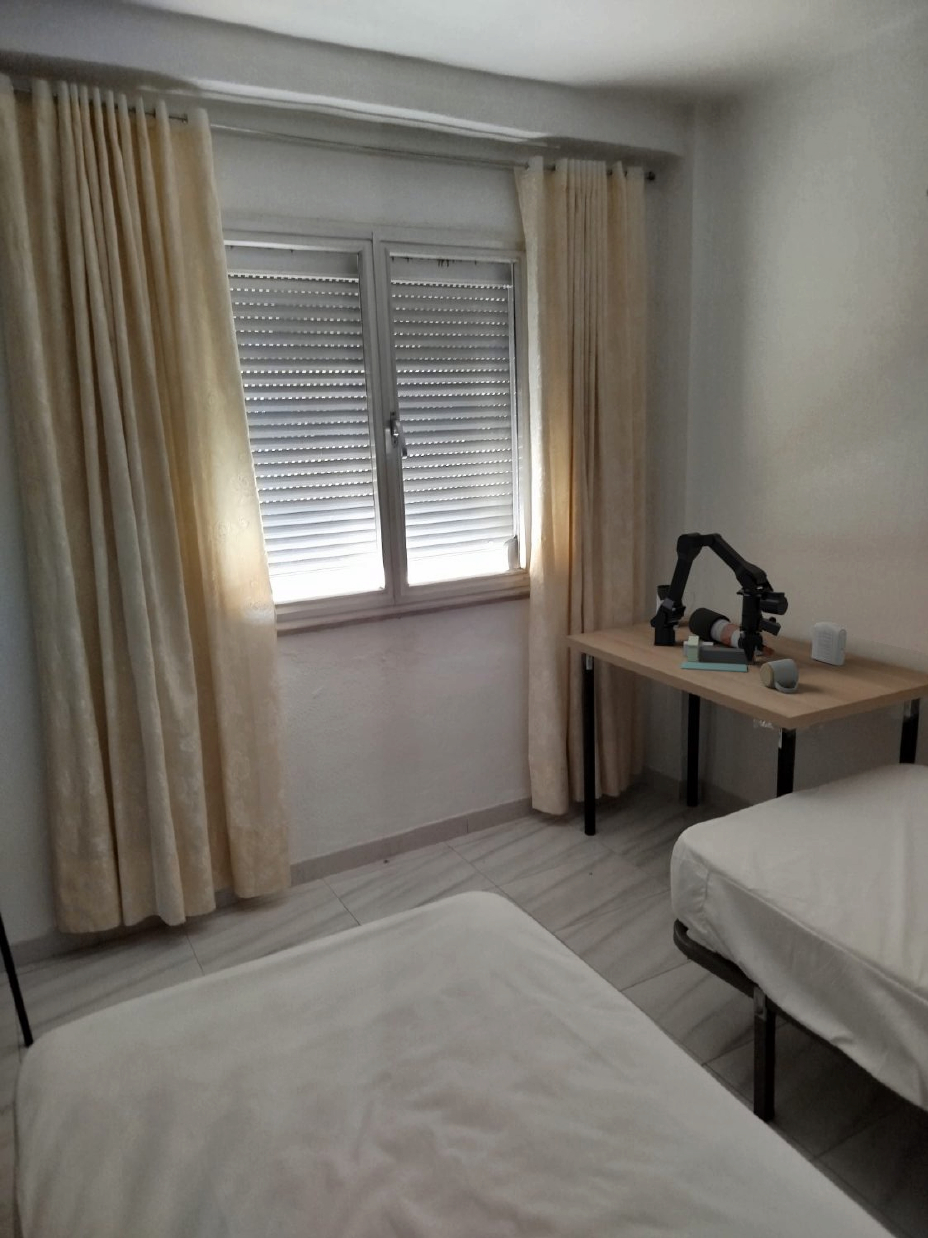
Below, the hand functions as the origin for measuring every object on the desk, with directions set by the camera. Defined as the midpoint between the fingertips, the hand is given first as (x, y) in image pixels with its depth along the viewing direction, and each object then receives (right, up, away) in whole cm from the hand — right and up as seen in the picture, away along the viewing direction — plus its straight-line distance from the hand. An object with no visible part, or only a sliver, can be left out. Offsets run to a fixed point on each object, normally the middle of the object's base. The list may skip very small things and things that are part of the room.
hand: (749, 659), depth 247 cm
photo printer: (+24, -1, -1) cm, 24 cm away
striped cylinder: (+1, +3, +19) cm, 19 cm away
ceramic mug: (0, -7, -25) cm, 26 cm away
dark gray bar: (-6, -1, +2) cm, 7 cm away
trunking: (-13, +1, +10) cm, 17 cm away
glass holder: (-10, +10, +50) cm, 52 cm away
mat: (-12, -2, -4) cm, 13 cm away
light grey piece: (-15, 0, +8) cm, 17 cm away
